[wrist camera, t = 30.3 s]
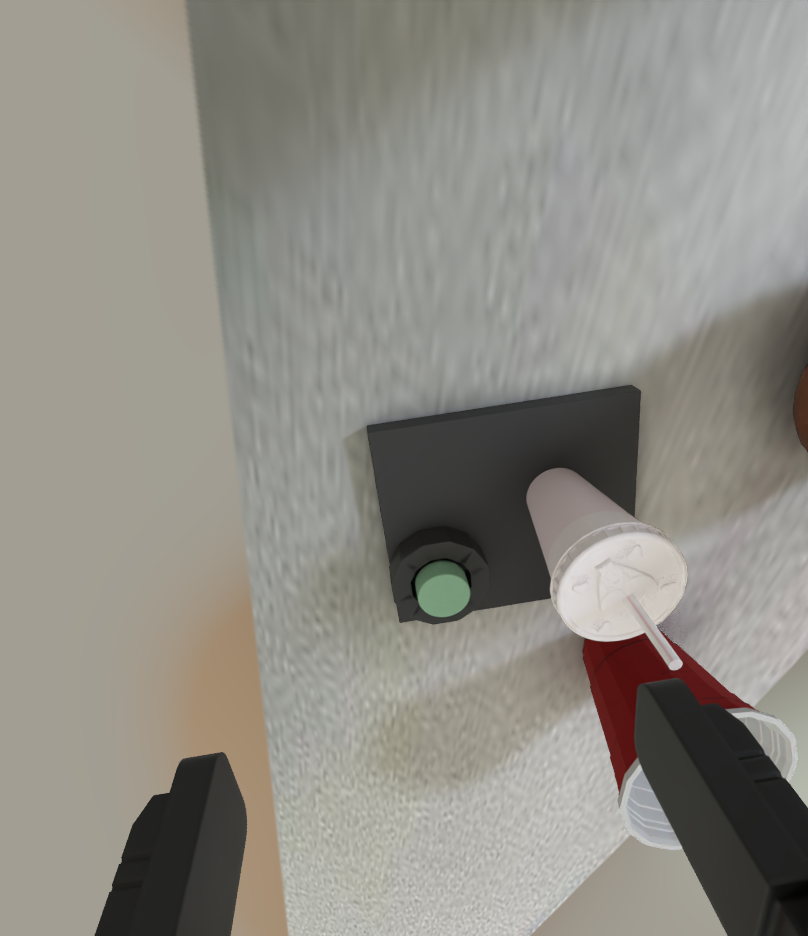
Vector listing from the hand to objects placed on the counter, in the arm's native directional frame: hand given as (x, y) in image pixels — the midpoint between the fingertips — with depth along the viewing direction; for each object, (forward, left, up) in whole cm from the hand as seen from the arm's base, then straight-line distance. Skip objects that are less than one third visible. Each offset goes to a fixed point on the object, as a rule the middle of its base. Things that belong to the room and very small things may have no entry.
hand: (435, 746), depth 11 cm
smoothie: (+8, +10, -23) cm, 26 cm away
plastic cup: (+23, +15, -24) cm, 36 cm away
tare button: (+12, +2, -21) cm, 25 cm away
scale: (+9, +7, -24) cm, 27 cm away
